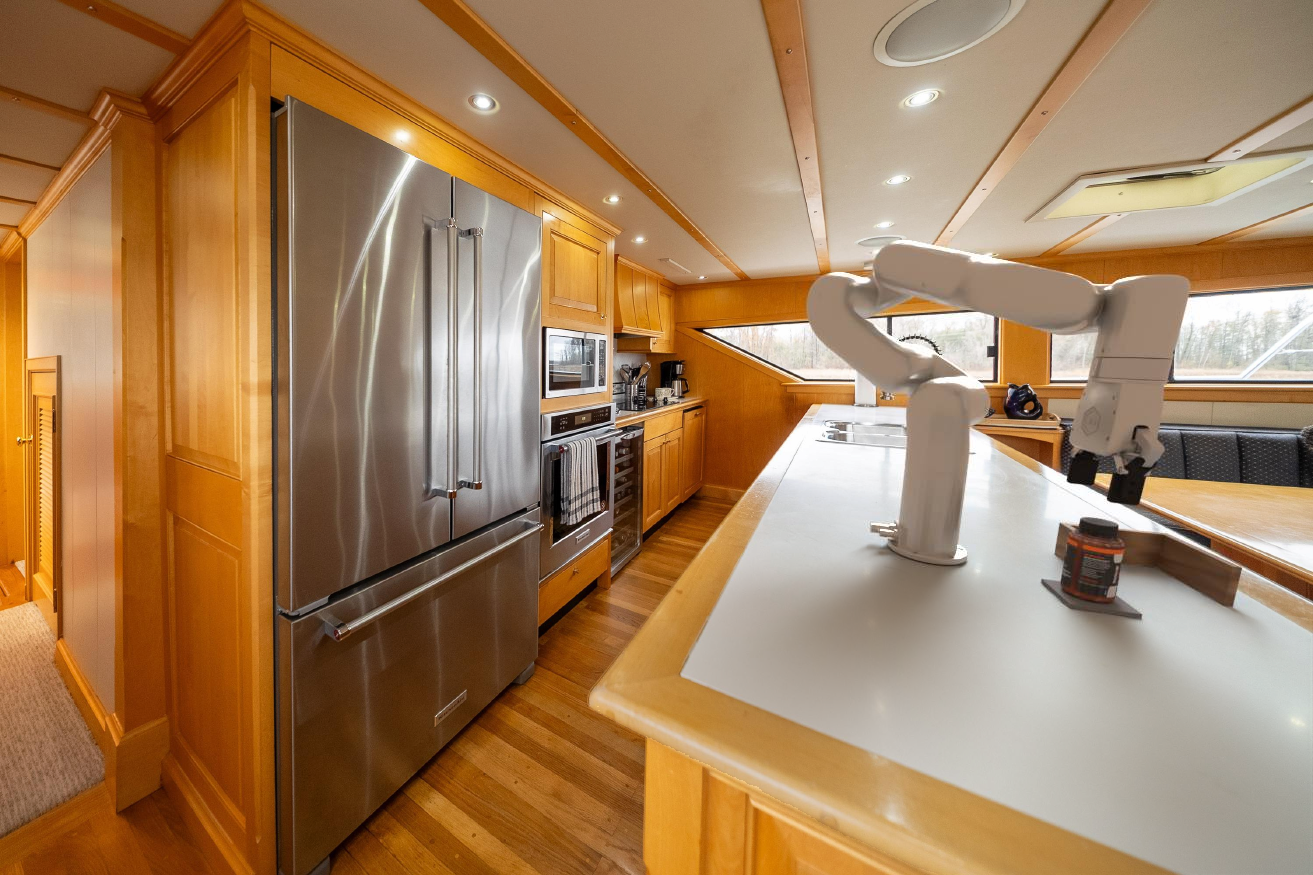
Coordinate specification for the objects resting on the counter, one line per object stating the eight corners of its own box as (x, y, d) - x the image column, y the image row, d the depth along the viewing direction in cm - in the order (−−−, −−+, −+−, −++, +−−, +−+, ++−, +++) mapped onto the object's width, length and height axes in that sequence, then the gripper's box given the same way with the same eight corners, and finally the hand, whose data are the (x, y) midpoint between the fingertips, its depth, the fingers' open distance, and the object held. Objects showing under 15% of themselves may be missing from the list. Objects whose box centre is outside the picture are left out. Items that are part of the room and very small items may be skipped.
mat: (1069, 607, 63) (1070, 603, 63) (1041, 582, 71) (1041, 578, 71) (1141, 618, 61) (1142, 614, 61) (1104, 590, 68) (1105, 587, 68)
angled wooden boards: (1102, 589, 69) (1109, 552, 68) (1054, 553, 82) (1059, 522, 81) (1232, 606, 64) (1242, 567, 63) (1159, 566, 77) (1166, 533, 76)
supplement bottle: (1126, 607, 62) (1142, 530, 61) (1076, 602, 64) (1090, 526, 62) (1094, 587, 68) (1108, 516, 66) (1049, 582, 69) (1061, 512, 68)
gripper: (1059, 369, 70) (1038, 475, 73) (1137, 372, 54) (1104, 508, 57) (1120, 372, 68) (1095, 480, 71) (1219, 376, 51) (1181, 517, 55)
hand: (1099, 492), depth 64 cm, fingers open, 9 cm apart
